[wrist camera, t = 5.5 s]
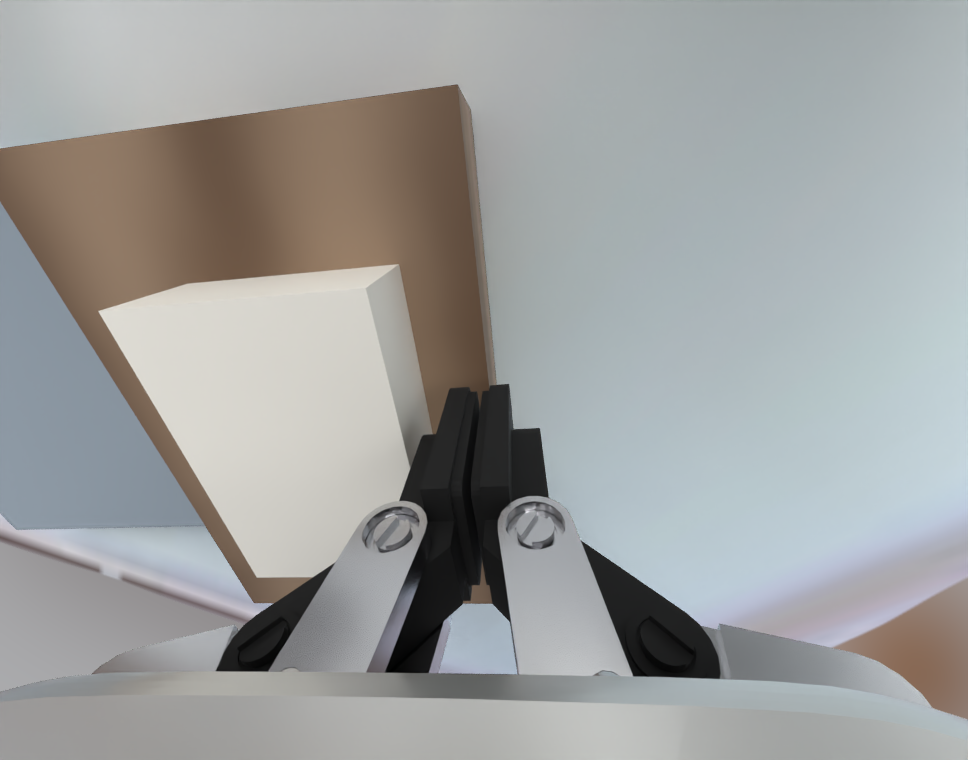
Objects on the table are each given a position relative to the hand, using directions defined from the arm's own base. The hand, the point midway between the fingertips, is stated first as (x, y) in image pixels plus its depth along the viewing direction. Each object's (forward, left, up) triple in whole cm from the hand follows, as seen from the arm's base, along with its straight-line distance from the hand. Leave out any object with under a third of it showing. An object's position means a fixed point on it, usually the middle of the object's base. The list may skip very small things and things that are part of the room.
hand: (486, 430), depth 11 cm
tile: (+5, 0, -1) cm, 5 cm away
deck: (+6, +1, -4) cm, 7 cm away
